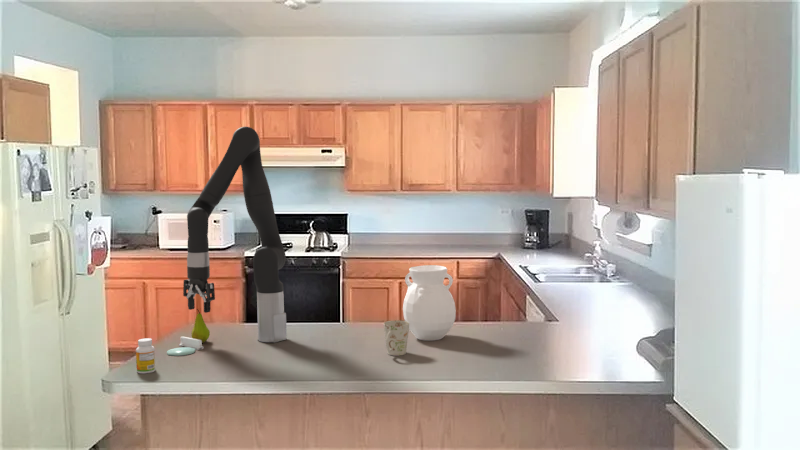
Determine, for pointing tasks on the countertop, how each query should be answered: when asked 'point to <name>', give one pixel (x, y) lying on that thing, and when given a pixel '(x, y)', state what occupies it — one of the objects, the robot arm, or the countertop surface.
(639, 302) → the countertop surface
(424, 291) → the white handled vase
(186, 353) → the pad
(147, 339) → the supplement bottle
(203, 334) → the fruit
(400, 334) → the mug
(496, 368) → the countertop surface
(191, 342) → the rail
